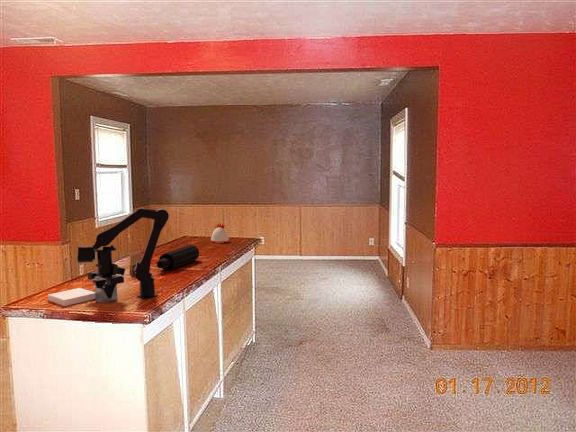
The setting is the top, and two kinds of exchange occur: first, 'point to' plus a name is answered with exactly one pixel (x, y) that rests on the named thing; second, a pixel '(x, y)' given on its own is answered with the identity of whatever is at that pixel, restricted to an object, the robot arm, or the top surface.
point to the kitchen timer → (219, 234)
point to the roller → (178, 257)
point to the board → (71, 296)
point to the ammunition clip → (134, 260)
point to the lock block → (104, 294)
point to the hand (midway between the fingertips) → (106, 297)
